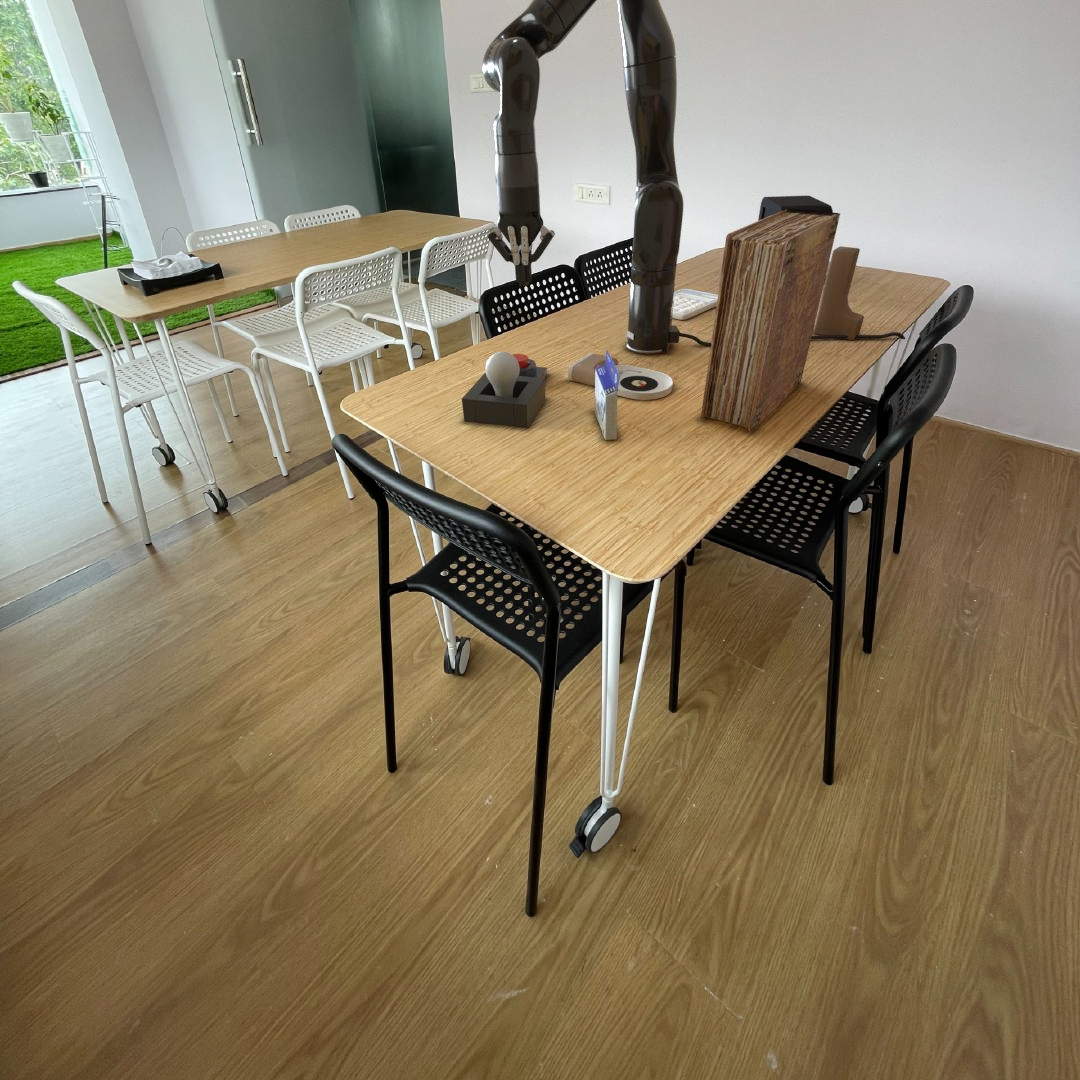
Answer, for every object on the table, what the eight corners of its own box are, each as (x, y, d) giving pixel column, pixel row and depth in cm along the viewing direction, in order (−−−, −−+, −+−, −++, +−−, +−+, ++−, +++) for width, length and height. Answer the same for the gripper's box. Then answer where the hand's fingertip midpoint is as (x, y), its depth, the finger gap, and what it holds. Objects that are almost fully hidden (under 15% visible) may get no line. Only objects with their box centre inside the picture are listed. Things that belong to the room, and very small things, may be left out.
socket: (545, 400, 118) (545, 377, 115) (527, 428, 109) (526, 404, 106) (486, 395, 121) (484, 372, 118) (464, 421, 111) (461, 398, 109)
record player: (594, 350, 130) (683, 369, 121) (594, 364, 132) (681, 384, 122) (565, 368, 122) (657, 390, 113) (564, 383, 124) (655, 406, 115)
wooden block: (859, 335, 141) (883, 250, 131) (853, 341, 139) (877, 254, 128) (819, 328, 146) (839, 245, 135) (812, 333, 143) (832, 249, 132)
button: (531, 362, 125) (530, 354, 124) (524, 371, 122) (524, 362, 121) (510, 361, 126) (509, 352, 125) (503, 369, 123) (503, 360, 122)
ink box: (593, 412, 113) (594, 350, 106) (605, 411, 113) (607, 349, 106) (603, 441, 104) (606, 376, 97) (617, 440, 104) (620, 375, 97)
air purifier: (820, 285, 174) (838, 205, 162) (768, 286, 175) (783, 207, 163) (797, 267, 191) (812, 194, 179) (749, 268, 191) (762, 195, 179)
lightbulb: (517, 418, 112) (514, 359, 105) (485, 416, 113) (479, 358, 106) (524, 404, 117) (522, 347, 110) (493, 402, 118) (489, 345, 111)
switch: (547, 375, 128) (546, 358, 126) (536, 390, 122) (535, 373, 119) (501, 371, 130) (500, 355, 128) (488, 386, 124) (487, 369, 122)
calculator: (639, 311, 160) (640, 303, 159) (683, 293, 171) (684, 286, 170) (683, 321, 153) (684, 313, 151) (725, 302, 164) (727, 295, 163)
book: (749, 433, 105) (787, 241, 87) (699, 420, 109) (725, 234, 91) (800, 383, 121) (841, 212, 103) (755, 373, 125) (786, 208, 107)
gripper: (558, 178, 111) (561, 279, 121) (488, 180, 114) (497, 279, 124) (549, 184, 105) (552, 290, 116) (475, 186, 108) (485, 289, 118)
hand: (524, 284), depth 120 cm, fingers closed
